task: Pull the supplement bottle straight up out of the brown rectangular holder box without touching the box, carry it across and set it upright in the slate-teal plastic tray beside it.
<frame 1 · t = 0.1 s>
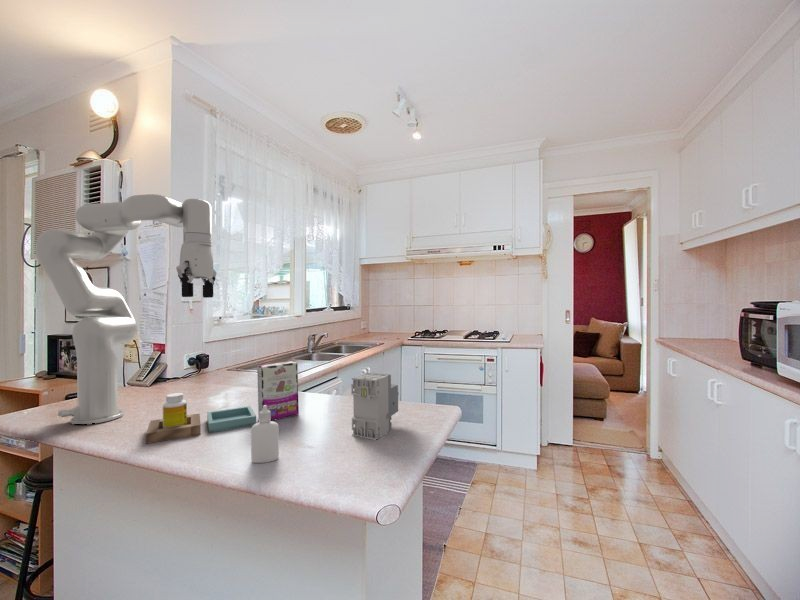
hand: (198, 297, 109), 37 cm above the table, tool pointing down, fingers open, 9 cm apart
brown rectangular holder box: (175, 431, 98), on the table
circuit breaker: (377, 429, 98), on the table
eye dropper bottle: (265, 460, 79), on the table
tray: (231, 422, 105), on the table
candy bar box: (278, 417, 110), on the table
supplement bottle: (175, 432, 98), resting in brown rectangular holder box
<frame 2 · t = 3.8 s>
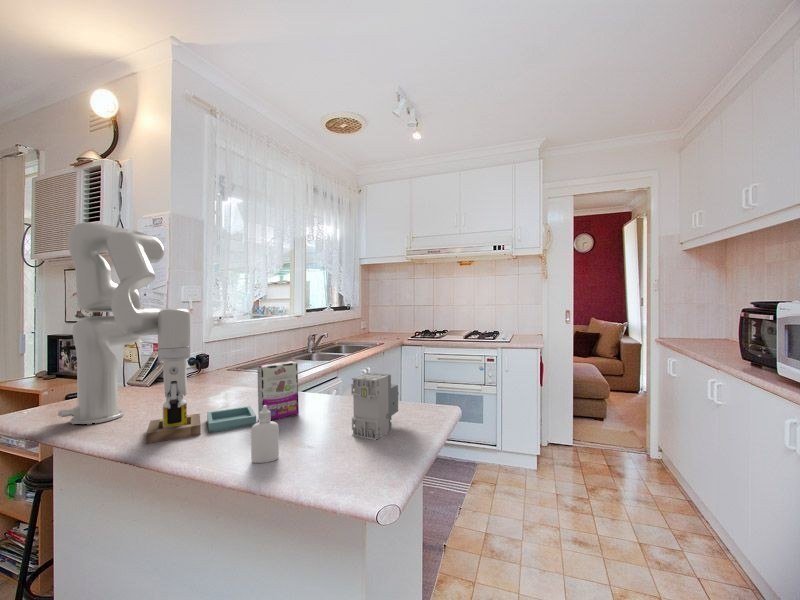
hand: (174, 419, 98), 4 cm above the table, tool pointing down, fingers closed on supplement bottle, 5 cm apart
supplement bottle: (175, 432, 98), resting in brown rectangular holder box, touching gripper
everything else where it was.
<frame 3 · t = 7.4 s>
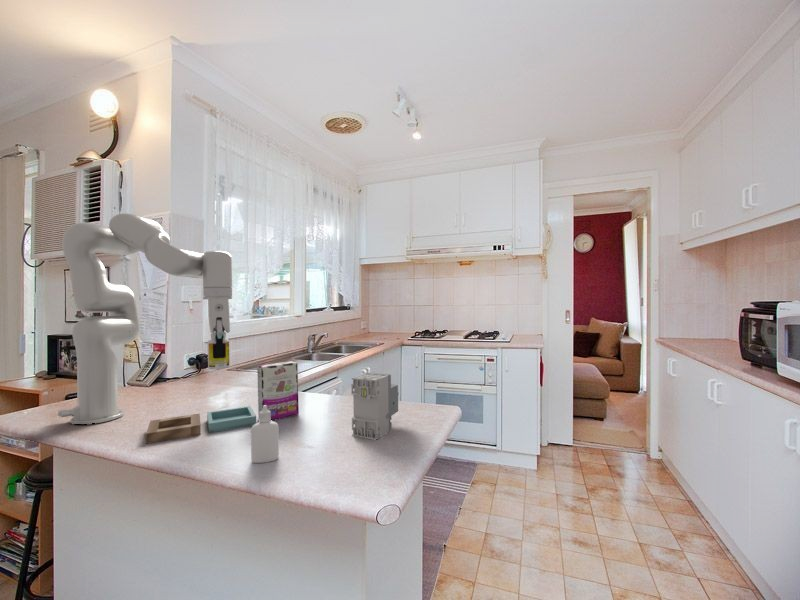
hand: (218, 355, 103), 20 cm above the table, tool pointing down, fingers closed on supplement bottle, 5 cm apart
supplement bottle: (218, 368, 103), point 16 cm above the table, touching gripper
everything else where it was.
when the fingers open (5 cm above the table, at t = 11.2 s): supplement bottle drops 1 cm, resting on tray.
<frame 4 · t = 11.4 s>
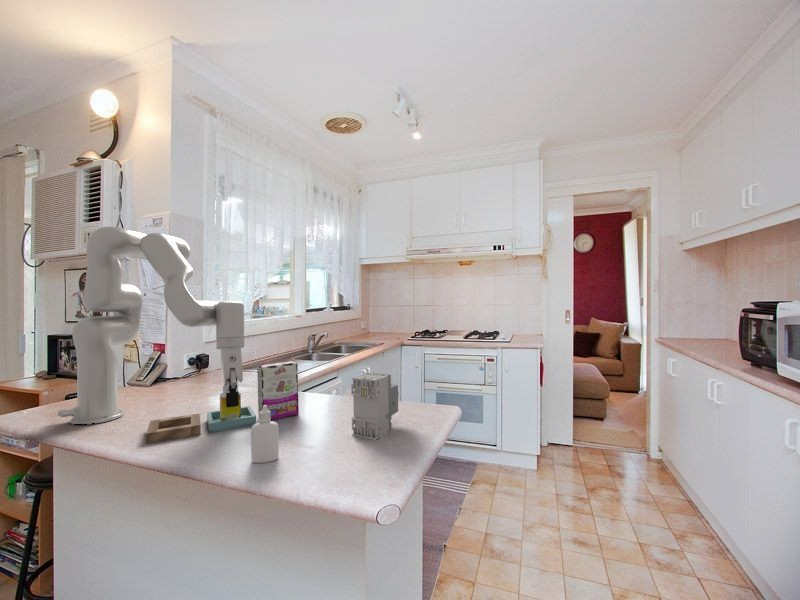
hand: (231, 402, 105), 6 cm above the table, tool pointing down, fingers open, 7 cm apart
supplement bottle: (230, 421, 105), resting on tray
everything else where it was.
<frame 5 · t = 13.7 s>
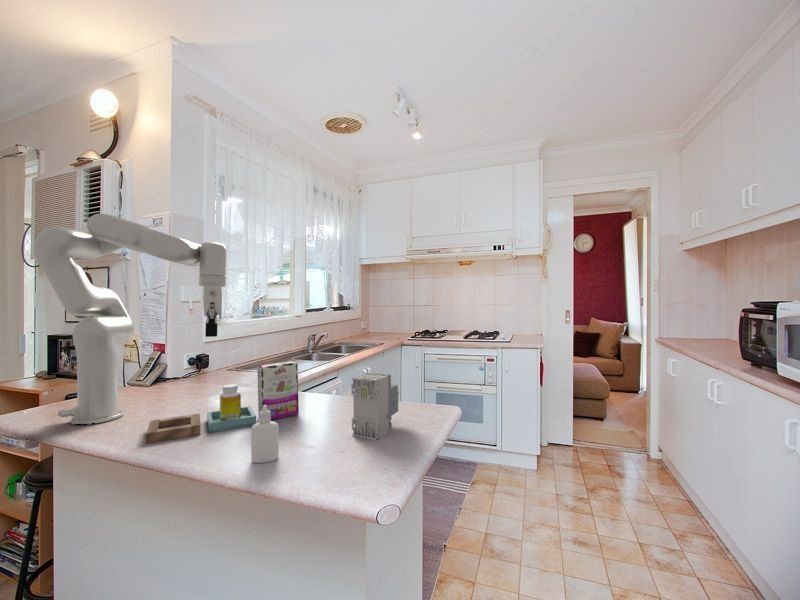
hand: (211, 335, 114), 25 cm above the table, tool pointing down, fingers open, 9 cm apart
nothing on the table moved.
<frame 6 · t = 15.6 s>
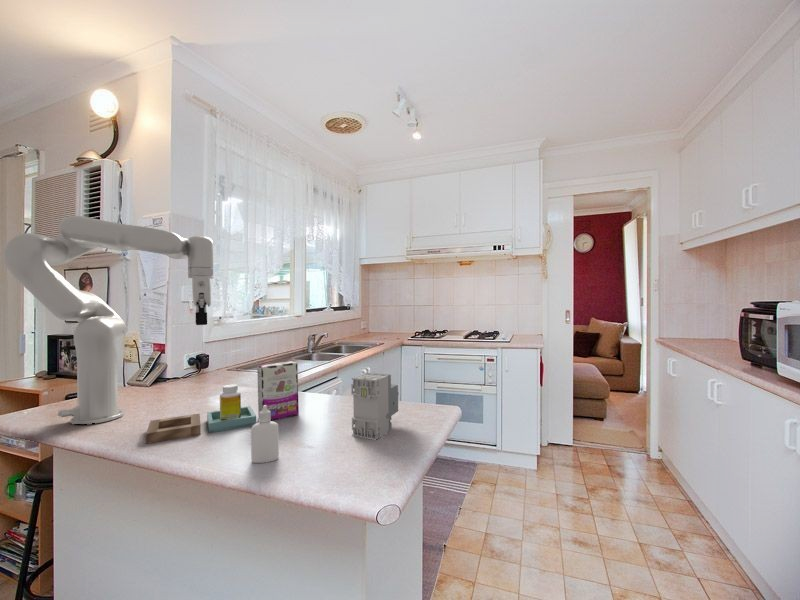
hand: (201, 324, 121), 28 cm above the table, tool pointing down, fingers open, 9 cm apart
nothing on the table moved.
at the end: supplement bottle 0.3 cm off-centre on the tray, point 0.4 cm above the tray's base; supplement bottle tilted 0°; the gripper is holding nothing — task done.
